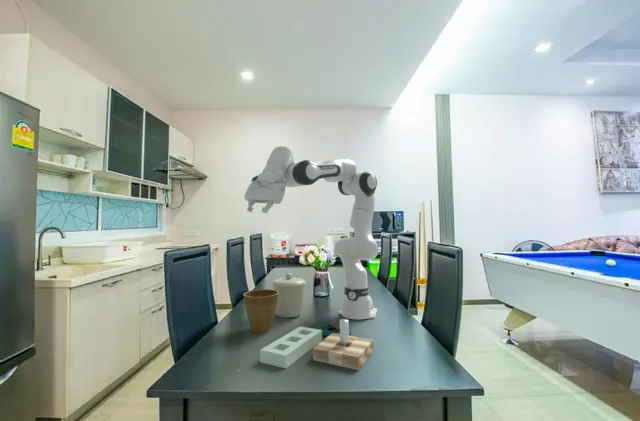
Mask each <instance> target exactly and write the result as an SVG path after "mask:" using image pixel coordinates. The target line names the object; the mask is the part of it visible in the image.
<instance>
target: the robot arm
mask: <svg viewBox="0 0 640 421" xmlns="http://www.w3.org/2000/svg"><path fill="white" fill-rule="evenodd" d="M320 179H323V180H324V181H325V182H327V183H337V187H338V188H337V189H338V191H339V193H340V194H342V195H343V196H354V203H353V206H352V211H351V215H350V220H349V221H350V222H349V225H350V227H351V228H352V229H353V233H354V236H353V237H351V236H346V237H345V236H344V237H341V238H339V239H338V240H337V241H336V242H335V245H334V250H335V253H336V254H337V255H338V257H339V258H340V260H341V263H342V266H343V270H344V281H345V282H344V284H345V285H344V289H343V290H344V292H343V293H344V295H343V296H342V298H341V310H339V311H338V314H340V315H341V316H342V317H344V319H348V320H358V321H359V320H367V319H368V320H369V319H376V316H377V313H378V308H376V307H374V302H373V299H372V297H371V296H370V292H369V290H370V286H369V285H368V272H367V270H366V268H365V267H364V266H363V265H362V262H361V261H369V260H374V259H375V258H376V257H377V256H378V255H379V245H378V243H377V241H376V240H375V238H374V237H373V233H372V232H373V231H372V226H373V225H372V224H373V218H374V213H375V205H376V203H375V202H376V201H375V195H374V194H375V191H376V189H377V186H378V179H377V177H376V175H375V174H374V173H373V172H370V171H363V172H357V165H356V163H355V162H354V160H351V159H349V158H331V159H329V160H324V162H323V163H318V162H317V163H316V162H314V161H312V160H308V159H304V160H301V161H298V162H296V160H295V158H294V155H293V151H292V149H290V148H289V147H287V146H282V145H281V146H277V147H274V148H273V149H272V151H271V153H270V154H269V157H268V158H267V160H266V165H265V167H264V168H263V170H262V172H261V173H260V172H259V174H257V175H256V176H253V177H252V178H251V180H250V182H251V183H250V184H249V185H248V187H247V190H246V191H245V194H244V200H245V201H247V203H248V204H247V206H248V207H247V209H246V211H248V213H252V212H253V210H254V208H253V207H254V205H255V204H265V206H264V207H262V209H261V212H262V213H263V214H268V212H269V211H270V209H271V208H272V207H273V206H274V205H275V204H276V205H277V204H278V205H279V204H281V203H282V201H283V200H284V196H285V193H286V188H295V187H302V186H310V185H313V184H314V183H316V182H318V181H319V180H320Z"/></svg>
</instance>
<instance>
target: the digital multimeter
mask: <svg viewBox="0 0 640 421" xmlns="http://www.w3.org/2000/svg"><path fill="white" fill-rule="evenodd" d="M315 329H318V330H322V336H325V337H326V338H327V337H328V336H329V335H331V334H332V333H336V334H340V327H338V326H335V325H332V324H330V323H321V324H319V325H318V326H316V327H315ZM349 336H352V333H351V332H350V331H349Z"/></svg>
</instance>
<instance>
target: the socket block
mask: <svg viewBox="0 0 640 421" xmlns="http://www.w3.org/2000/svg"><path fill="white" fill-rule="evenodd" d="M374 345H375V343H374V339H370V338H365V337H359V336H353V335H351V336H349V347H344V346H340V334H336V333H332V334H331V335H329V336H328V337H327V336H326V337H325V338H324V339H322V341H321V342H320V343H318V344H317V345H316V346H314V347H313V348H312V357H313V358H312V359H313V360H312V361H315V362H319V363H325V364H329V365H334V366H338V367H340V368H341V367H343V368H347V369H352V370H355V371H360V369H361V368H362V367H363V366H364V365H365V363H366V362H367V360H368V359H369V358H370V357H371V355H372V354H373V352H374V351H375V350H374V347H375V346H374Z"/></svg>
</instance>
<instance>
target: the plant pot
mask: <svg viewBox="0 0 640 421" xmlns="http://www.w3.org/2000/svg"><path fill="white" fill-rule="evenodd" d="M277 300H278V291H276V290H273V289H269V288H268V289H266V288H265V289H264V288H263V289H262V288H261V289H254V290H250V291H246V292H244V293H243V302H244V308H245V312H246V315H247V319H248V321H249V322H248V323H249V324H250V327H251V330H252V332H253V333H256V334H264V333H267V332H269V331H270V330H271V328H272V324H273V322H274V318H275V315H276V313H275V311H276V306H277Z"/></svg>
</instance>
